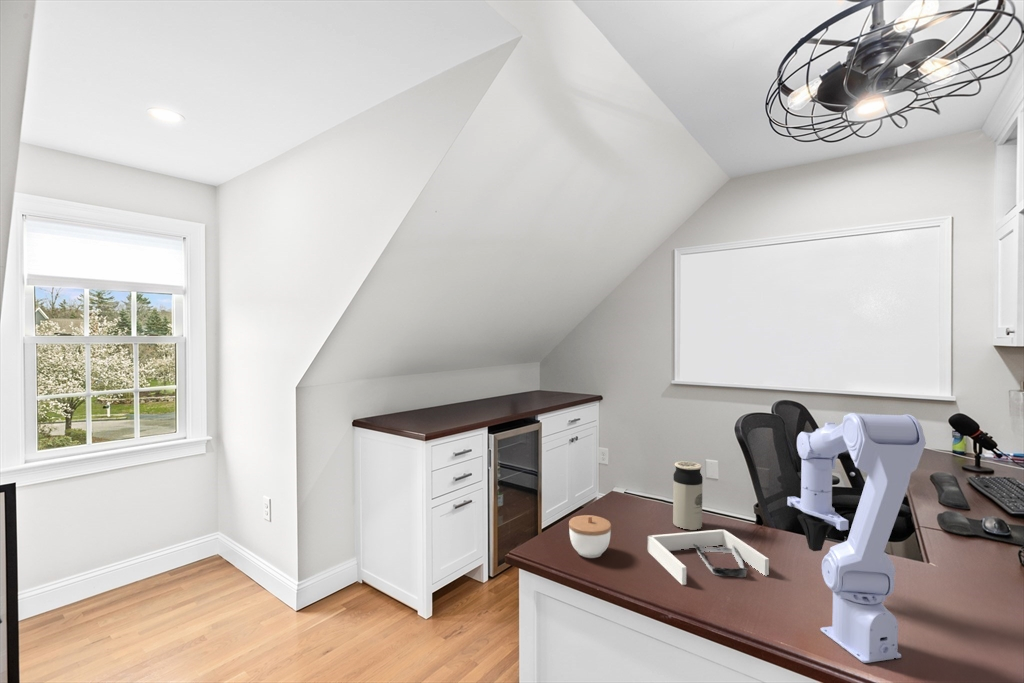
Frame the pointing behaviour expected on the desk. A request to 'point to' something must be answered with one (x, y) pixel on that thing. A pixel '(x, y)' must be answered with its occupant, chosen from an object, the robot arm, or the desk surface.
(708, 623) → the desk surface
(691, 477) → the travel mug
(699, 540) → the box
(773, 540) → the desk surface
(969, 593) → the desk surface
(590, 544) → the lidded jar
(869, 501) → the robot arm
